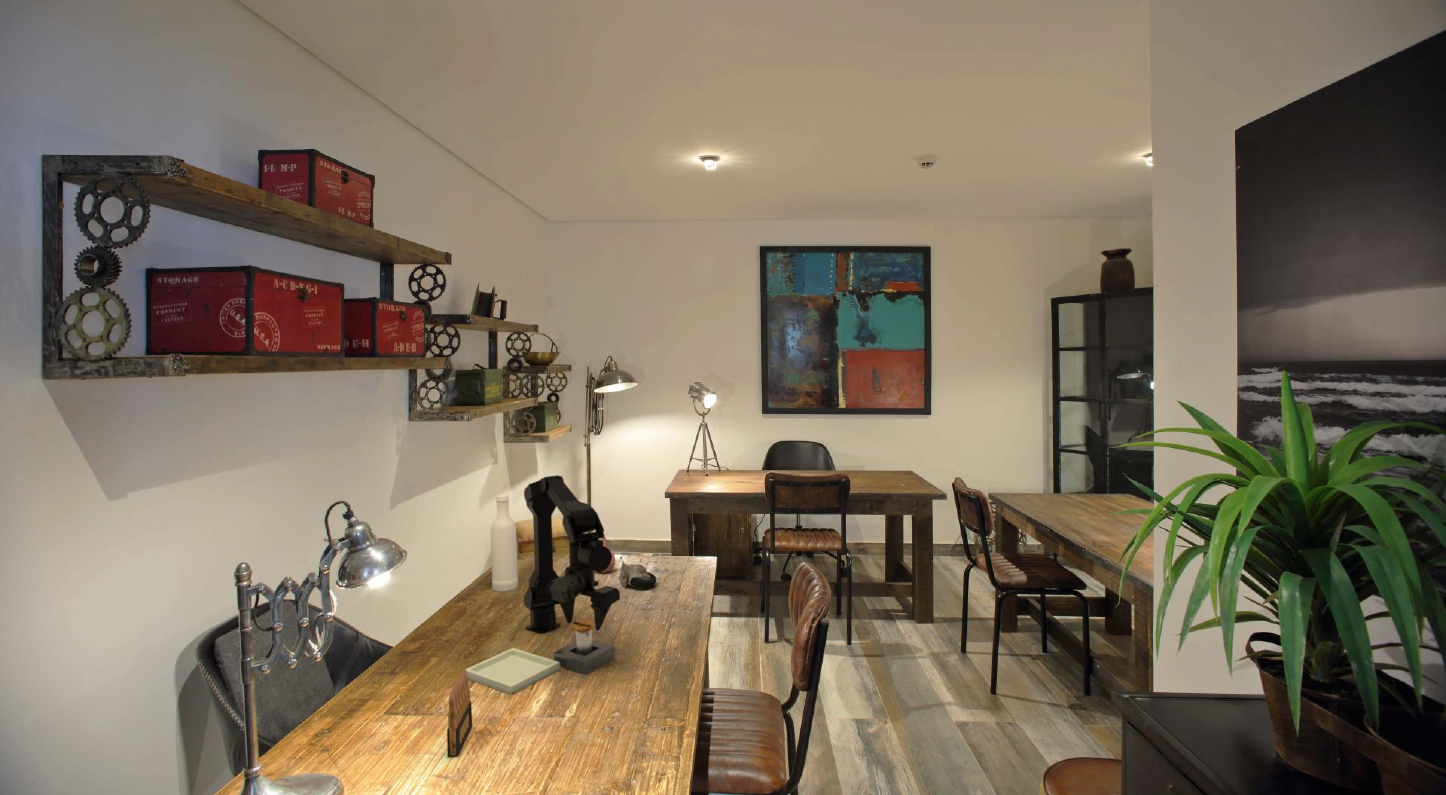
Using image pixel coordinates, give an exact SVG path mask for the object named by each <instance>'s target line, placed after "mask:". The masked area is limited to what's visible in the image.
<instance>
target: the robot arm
mask: <svg viewBox="0 0 1446 795" xmlns="http://www.w3.org/2000/svg"><path fill="white" fill-rule="evenodd" d="M564 480H565V479H564V477H563V476H561V475H559V474H557V475H549V476H544V477H542V478H540V479H539V480H537V481H534V482H532V483H529V484H528V485H527V486H526V487H525V488H524V491H523V496H524V501H525V503H526V504H525V505H526V507H527V508H528V510H529V512H530V513H531V514H532V518H533V519H532V521H533V522H532V523H533V525H532V526H533V551H534V570H533V572H532V573H531V575H530V577H529V578H528V588H527V589H526V592H525V594H524V596H523V605H524V608H526V609H527V610H528V611H529V612H530V613H529V614H530V625H527V626H526V627H525V629H526V630H529V631H533V632H536V633H539V634H545V633H547V632H549V631H551V630H553V629H555V628H556V629H557V628H558V627H559V626H561V623H559V622H557V612H556V605H560V608H561V610H562V613H563V615H564V618H565V621H566V623H567V624H570V623H573V618H574V611H575V610H574V609H575V602H576V598H577V597H578V596H579V595H581V596H586V597H590V602H591V603H592V604H590V605H589V606H590V607H591V609H592V610H593V613H594V614H593V615H594V616H593V617H594V628H595V631H597V632H598V631H600V630H601V628H602V626H603V624H604V621H605V619H606V616H607V614H608V612H609V611H610V609H611V607H612V605H614V604H615V603H616V602H618V601H620V599H621V592H620V589H618V587H613V586H609V585H605V586H602V587H600V588H597V589H596V587H598V586H599V581H598V580H596V578H595V572H597V573H598V572H599V573H601V571H604V570H605V569H607V568H608V566H609V565H610V563H611V560H612V554H611V552H612V551H611V550H610V549H608V548H609V547H608V546H607V547H608V548H607V547H605V546H603V541H602V540H601V538H604V537H606V536H605V533H604V532H605V529H604V526H603V524H602V521H601V519H600V517H599V514H598V513H597V512H596V509H594V507H592V505H590V504H589V503H586V502H582V501H580V500H579V499H578V498H577V497H576V496H575V495H574V493H573V492H572V490H571V489H570V488H569V487H568V485H567V484H566V483H565V481H564ZM556 508H557V509H558V511H559V512H560V513H561V516H562V522H561V524H562V527H563V530H564V531H565V534H566V536H567V537H566V539H567V541H568V553H569V554H568V555H569V566H567V567H565V570H564V575H563V576H559V575H558V574H557V573H556V570H555V569H554V554H553V552H554V551H553V548H554V547H553V524H552V523H553V522H552V520H553V519H552V517H553V513H554V512H555V510H556ZM610 551H611V552H610Z"/></svg>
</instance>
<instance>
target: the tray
mask: <svg viewBox="0 0 1446 795" xmlns="http://www.w3.org/2000/svg"><path fill="white" fill-rule="evenodd" d="M465 669H466V672H467V676H468V681H472V682H475V683H477V684H480V685H483V686H485V687H488V688H491V689H493V690H496V691H499V692H502V693H503V694H507V695H510V696H513V695H514V694H516V693H518V692H521V691H522V690H524V689H526V688H528V687H530V686H532V685H534V684H536V683H538V682H539V681H541V680H543V679H546V678H547V677H550V676H551V675H553V674H555V673H557V672H558V671H560V670H561V667H560V662H557V661H554V659H550V658H547V657H544V656H541V655H537V654H535V653H530V652H528V651H525V650H522V649H518V648H514V647H512V648H510V649H509V648H508V650H505V651H503V652H501V653H498V654H497V655H494V656H493V657H490V658H488V659H485V660H483V661H480V662H478V663H476V664H474V665H472V666H470V667H466V668H465Z"/></svg>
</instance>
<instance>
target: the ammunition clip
mask: <svg viewBox="0 0 1446 795" xmlns="http://www.w3.org/2000/svg"><path fill="white" fill-rule="evenodd" d="M466 669H467V668H465V667H464V668H463V669H462V672H461V673H460V675H459V676H458V678H457V680H456V682H455V684H454V685H453V686H452V689H450V691H449V697H448V711H447V712H448V713H447V721H448V722H447V724H448V727H447V729H446V744H447V745H446V746H447V750H446V751H447V758H455V757H456V758H457V757H458V758H459V757H460V754H461V752H462V750H463V747H464V745H465V743H466V741H467V738H468V737H469V735H470V733H471V730H472V728H473V713H472V712H473V710H472V700H471V694H470V687H469V679H468V676H467V672H466Z"/></svg>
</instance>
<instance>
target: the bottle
mask: <svg viewBox="0 0 1446 795" xmlns="http://www.w3.org/2000/svg"><path fill="white" fill-rule="evenodd" d="M509 500H510V498H509V494H498V495H496V499H495V502H496V518H495V519H494V520H493V521H492V523H491V526H490V547H491V551H490V552H491V574H492V575H491V586H492V590H493V591H494V592H496V593H506V592H511V591H514V590H516V589H517V588H518V586H519V575H518V574H519V573H518V550H517V549H518V544H517V525H516V523H515V521H514V519H513V518H511V517H510V513H509V512H510V509H509V505H510V504H509V503H510V502H509Z"/></svg>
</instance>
